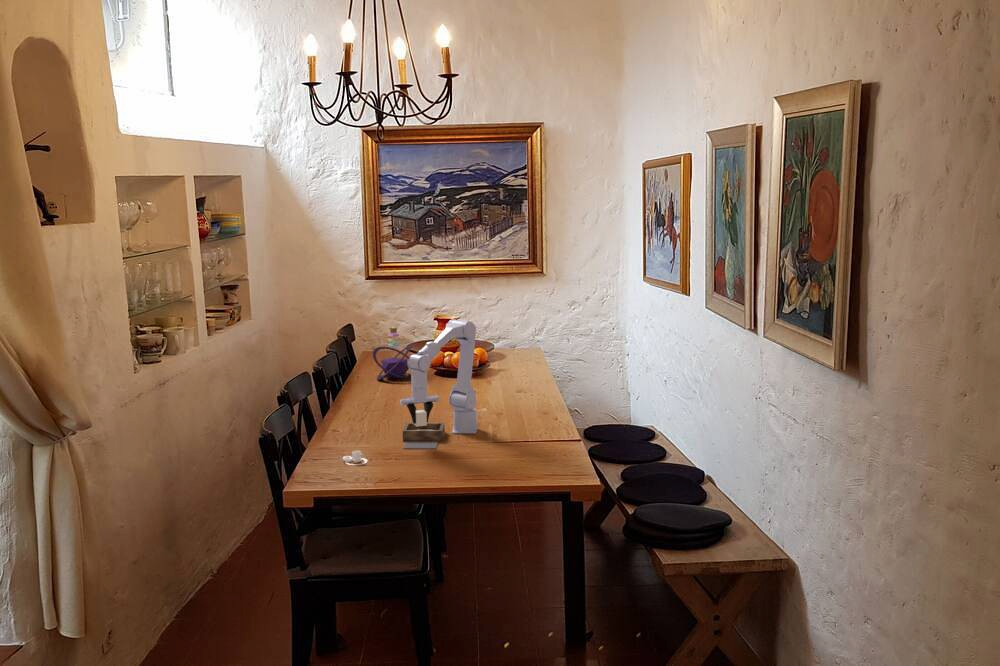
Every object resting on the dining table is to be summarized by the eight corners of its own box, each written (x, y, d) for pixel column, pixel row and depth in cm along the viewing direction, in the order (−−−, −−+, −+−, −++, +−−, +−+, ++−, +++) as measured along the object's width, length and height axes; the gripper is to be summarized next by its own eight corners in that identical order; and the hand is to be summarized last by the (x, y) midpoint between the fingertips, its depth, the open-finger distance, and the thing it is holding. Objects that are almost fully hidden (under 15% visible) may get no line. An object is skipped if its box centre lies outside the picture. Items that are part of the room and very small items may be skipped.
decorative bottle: (372, 373, 456) (370, 324, 451) (414, 371, 460) (413, 322, 455) (374, 384, 434) (372, 332, 429) (418, 381, 438) (417, 330, 433)
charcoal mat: (437, 442, 344) (437, 441, 344) (435, 449, 337) (435, 448, 337) (406, 442, 345) (406, 441, 345) (403, 449, 337) (403, 448, 337)
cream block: (423, 422, 342) (423, 409, 341) (426, 425, 338) (426, 412, 337) (413, 423, 341) (413, 410, 340) (416, 426, 337) (416, 413, 336)
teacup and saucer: (339, 462, 324) (338, 451, 323) (357, 457, 330) (357, 446, 329) (353, 468, 318) (353, 456, 317) (372, 462, 323) (371, 451, 323)
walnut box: (444, 432, 357) (444, 422, 356) (442, 441, 346) (442, 430, 345) (406, 432, 357) (406, 422, 356) (402, 441, 346) (402, 431, 346)
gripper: (435, 382, 343) (436, 417, 345) (397, 386, 338) (398, 421, 340) (440, 386, 336) (441, 422, 339) (402, 390, 331) (403, 426, 334)
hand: (420, 422), depth 339 cm, fingers closed on cream block, 4 cm apart
